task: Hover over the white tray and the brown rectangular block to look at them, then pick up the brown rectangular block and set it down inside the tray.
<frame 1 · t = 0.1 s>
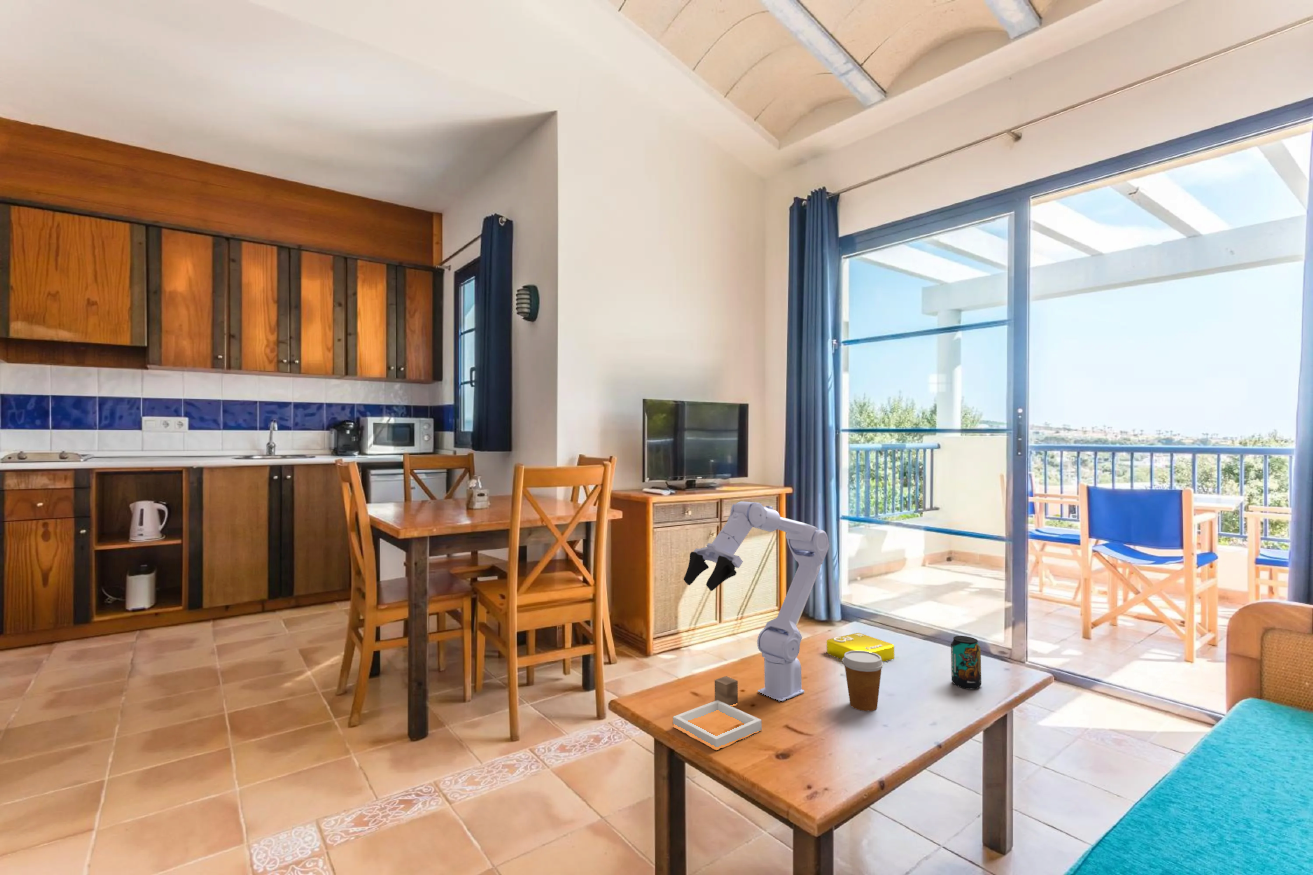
hand: (697, 585, 139), 32 cm above the table, tool tilted 50°, fingers open, 7 cm apart
disposable coffee cup: (863, 706, 148), on the table
beverage can: (966, 685, 160), on the table
yellow printed box: (860, 657, 183), on the table
white tray: (717, 729, 136), on the table
brown rectangular block: (726, 704, 149), on the table
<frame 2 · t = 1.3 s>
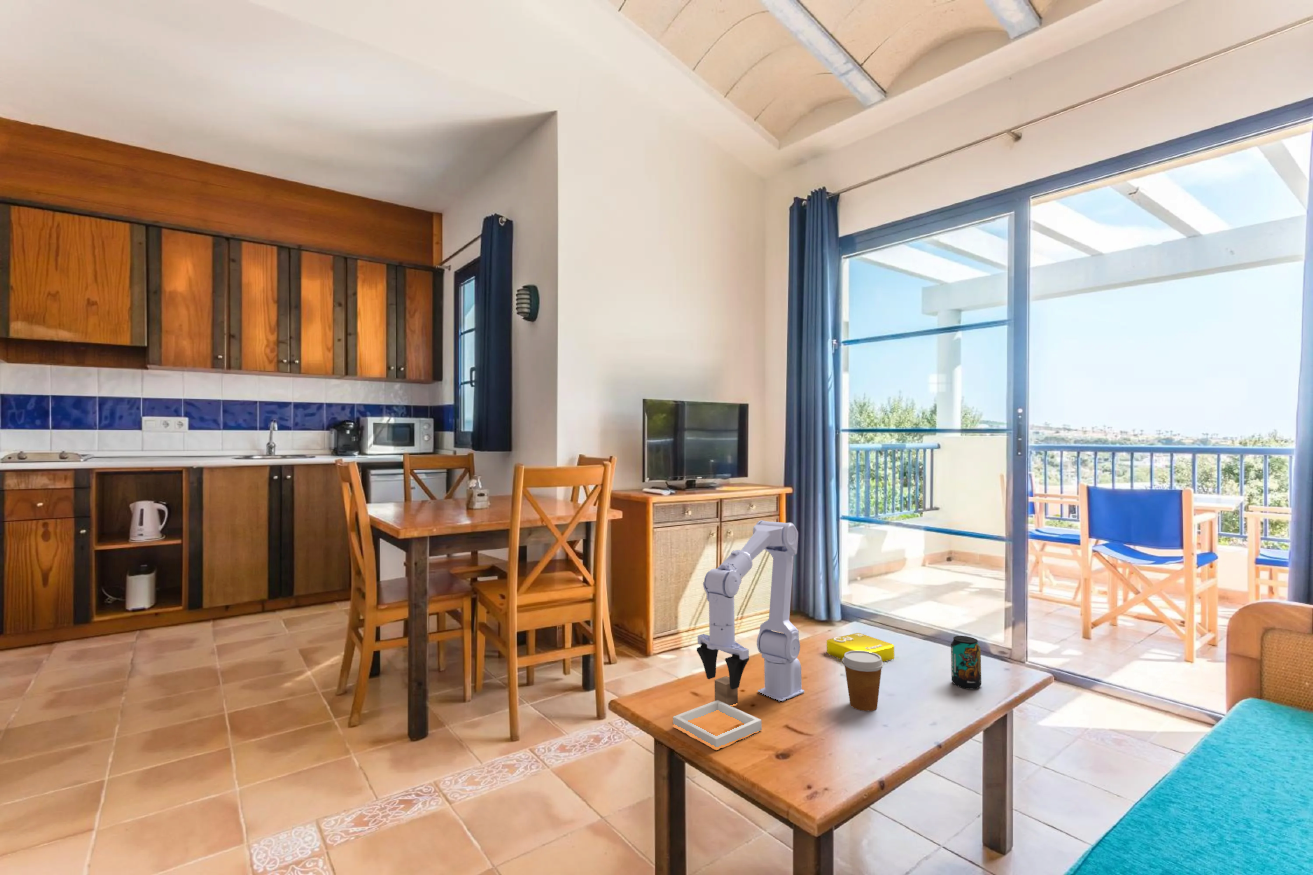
hand: (722, 682, 138), 10 cm above the table, tool pointing down, fingers open, 7 cm apart
nothing on the table moved.
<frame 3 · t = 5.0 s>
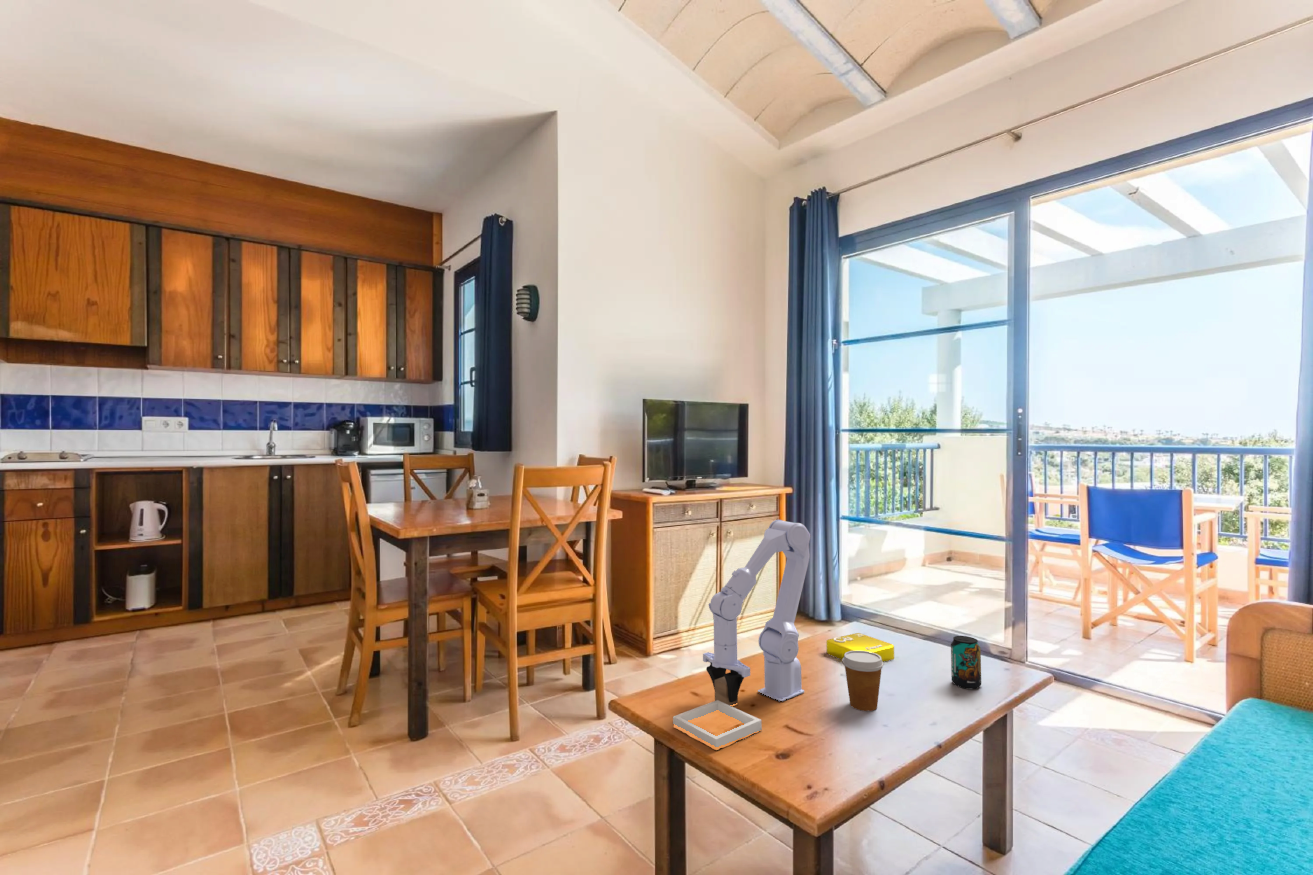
hand: (726, 697, 149), 2 cm above the table, tool pointing down, fingers closed on brown rectangular block, 4 cm apart
brown rectangular block: (726, 704, 149), on the table, touching gripper
everything else where it was.
when the fingers open (3 cm above the table, at t = 8.5 s): brown rectangular block drops 1 cm, resting on white tray.
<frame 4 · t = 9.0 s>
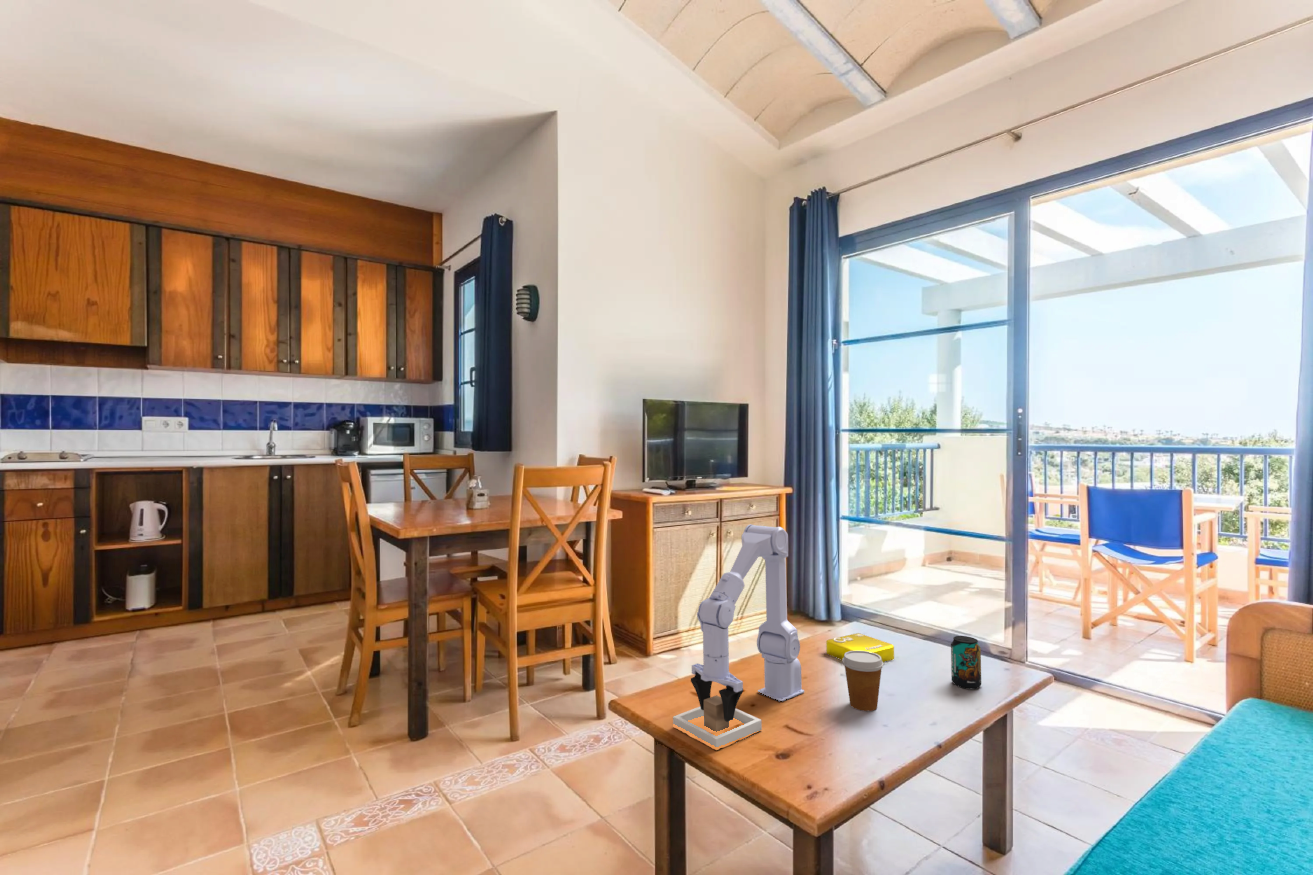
hand: (716, 714, 136), 3 cm above the table, tool pointing down, fingers open, 7 cm apart
brown rectangular block: (716, 727, 136), resting on white tray
everything else where it was.
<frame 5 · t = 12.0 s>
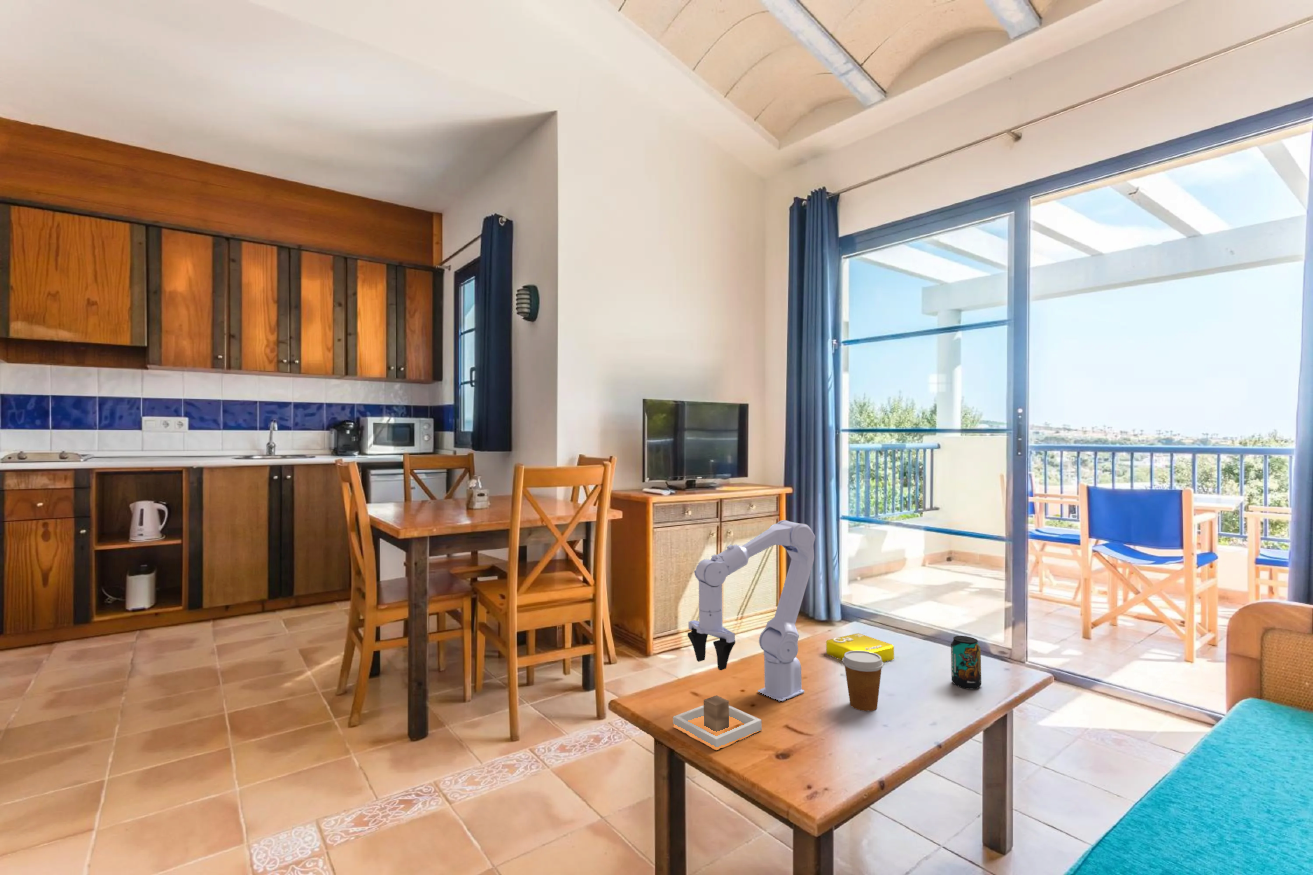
hand: (711, 664, 149), 10 cm above the table, tool pointing down, fingers open, 7 cm apart
nothing on the table moved.
at the end: brown rectangular block inside the target area on the white tray (0.1 cm from its centre), point 0.5 cm above the white tray's base; the gripper is holding nothing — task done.
